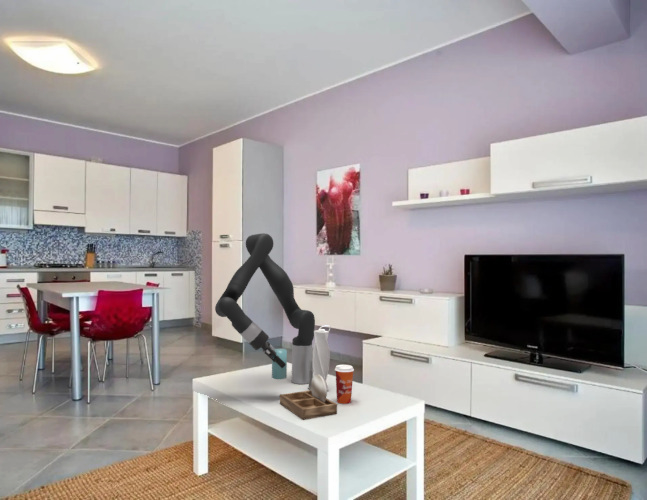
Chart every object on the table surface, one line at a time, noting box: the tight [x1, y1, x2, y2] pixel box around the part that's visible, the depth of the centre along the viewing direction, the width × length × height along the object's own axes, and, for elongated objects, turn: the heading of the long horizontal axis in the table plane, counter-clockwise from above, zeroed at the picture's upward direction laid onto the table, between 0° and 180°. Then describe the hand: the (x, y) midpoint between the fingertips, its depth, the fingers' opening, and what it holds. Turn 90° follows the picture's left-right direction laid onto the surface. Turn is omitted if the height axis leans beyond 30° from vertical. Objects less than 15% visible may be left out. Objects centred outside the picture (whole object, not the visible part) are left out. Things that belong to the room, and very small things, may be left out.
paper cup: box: [334, 364, 355, 405], centre depth 177 cm, size 8×8×14 cm
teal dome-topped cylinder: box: [271, 348, 288, 380], centre depth 180 cm, size 6×6×11 cm
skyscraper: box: [307, 324, 332, 393], centre depth 193 cm, size 8×8×28 cm
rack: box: [279, 375, 338, 421], centre depth 168 cm, size 14×20×12 cm
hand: (283, 364), depth 180 cm, fingers closed on teal dome-topped cylinder, 6 cm apart
